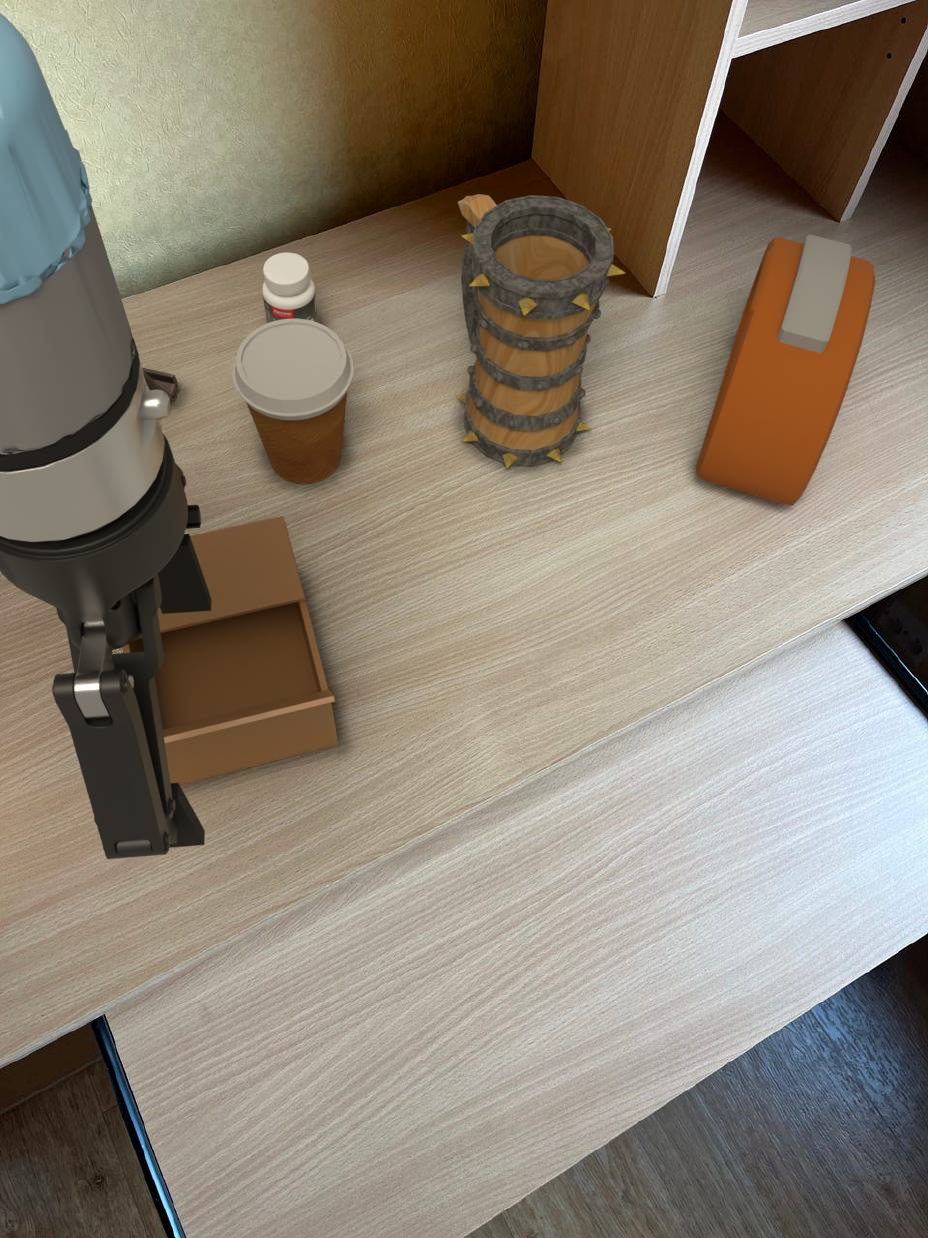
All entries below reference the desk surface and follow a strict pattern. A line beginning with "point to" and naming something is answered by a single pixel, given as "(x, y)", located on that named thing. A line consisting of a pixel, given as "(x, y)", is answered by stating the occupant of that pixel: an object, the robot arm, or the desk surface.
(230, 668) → the carton
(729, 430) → the alarm clock
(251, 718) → the flap
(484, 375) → the mug
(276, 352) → the disposable coffee cup
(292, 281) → the pill bottle
